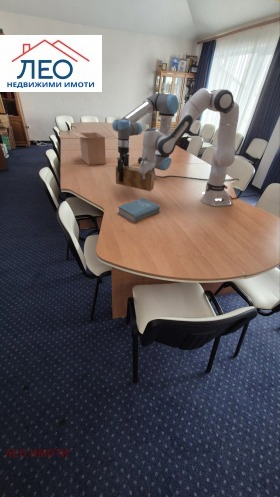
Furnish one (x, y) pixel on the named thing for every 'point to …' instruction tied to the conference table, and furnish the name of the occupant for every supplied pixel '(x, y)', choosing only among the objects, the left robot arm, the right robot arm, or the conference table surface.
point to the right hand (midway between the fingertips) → (146, 176)
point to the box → (92, 146)
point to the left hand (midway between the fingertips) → (123, 180)
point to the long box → (136, 178)
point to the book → (138, 209)
